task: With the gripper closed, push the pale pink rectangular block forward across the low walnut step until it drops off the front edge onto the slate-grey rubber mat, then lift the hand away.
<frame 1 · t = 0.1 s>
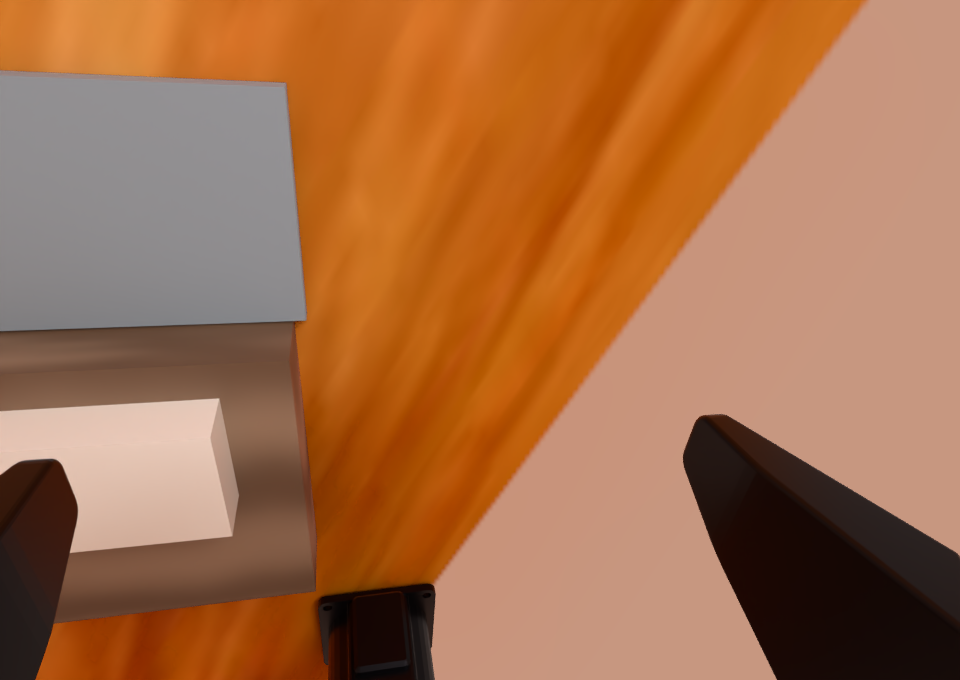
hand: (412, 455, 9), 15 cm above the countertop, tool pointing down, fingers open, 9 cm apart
step: (161, 453, 26), on the countertop
mat: (91, 209, 20), on the countertop
pale pink rectangular block: (127, 457, 22), point 3 cm above the countertop, touching step
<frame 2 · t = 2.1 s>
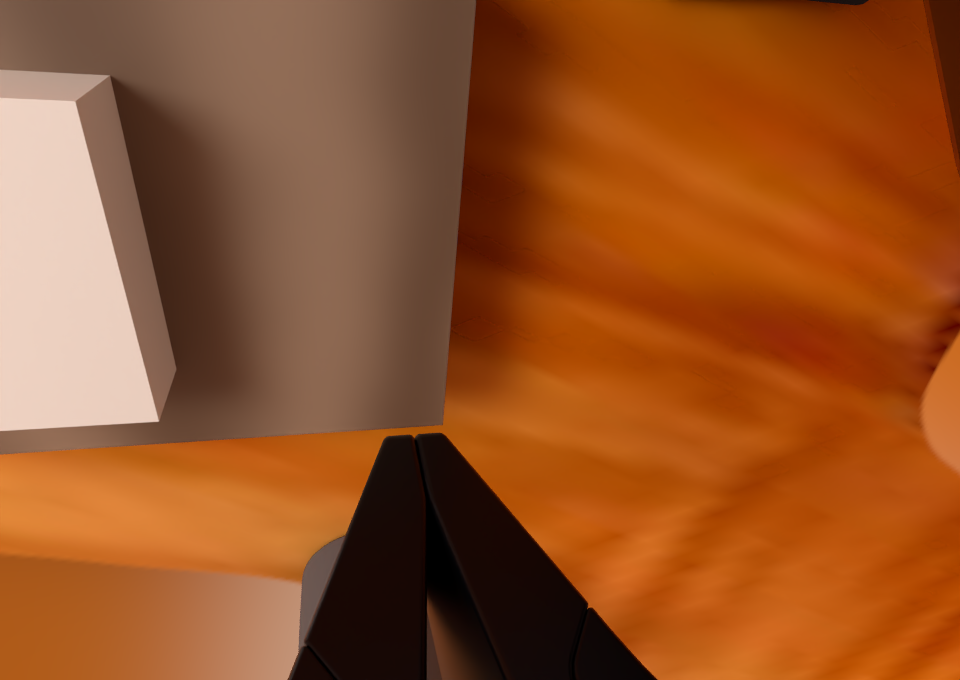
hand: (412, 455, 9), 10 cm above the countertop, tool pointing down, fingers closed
bottle: (371, 567, 27), on the countertop
step: (185, 193, 16), on the countertop
pale pink rectangular block: (20, 243, 13), point 3 cm above the countertop, touching step
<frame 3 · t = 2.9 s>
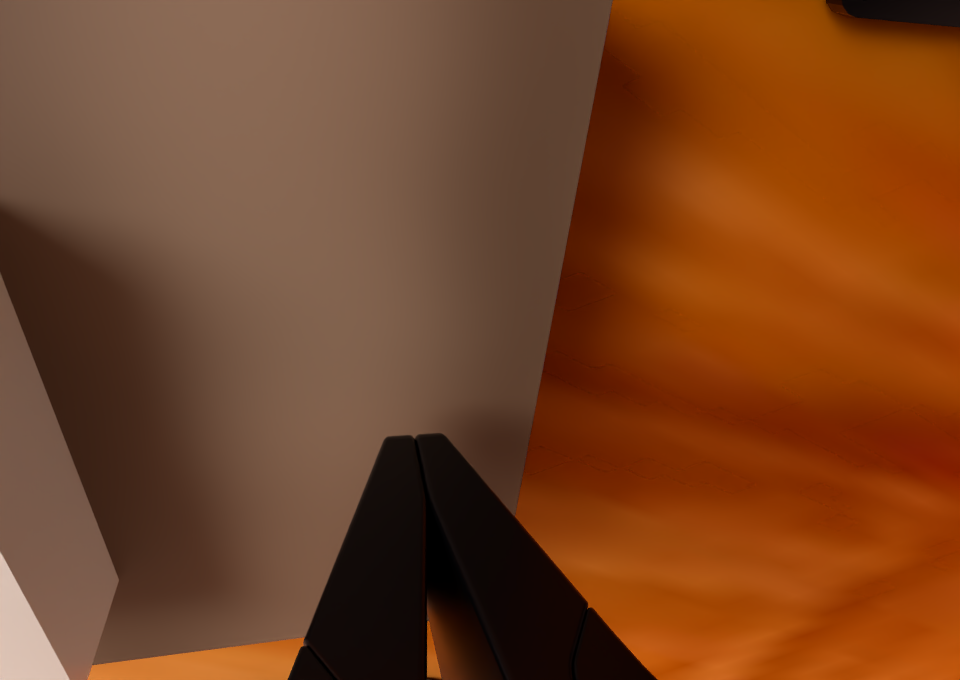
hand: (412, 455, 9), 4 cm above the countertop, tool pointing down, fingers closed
step: (135, 315, 11), on the countertop
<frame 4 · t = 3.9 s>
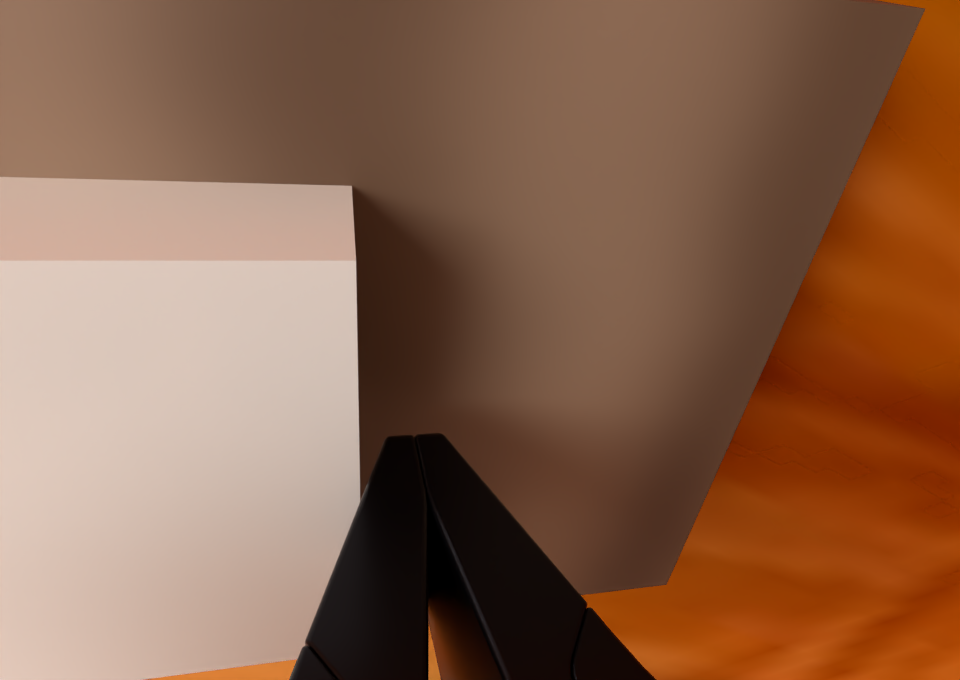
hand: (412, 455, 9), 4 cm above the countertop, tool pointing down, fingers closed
step: (368, 302, 12), on the countertop
pale pink rectangular block: (182, 411, 9), point 3 cm above the countertop, touching gripper
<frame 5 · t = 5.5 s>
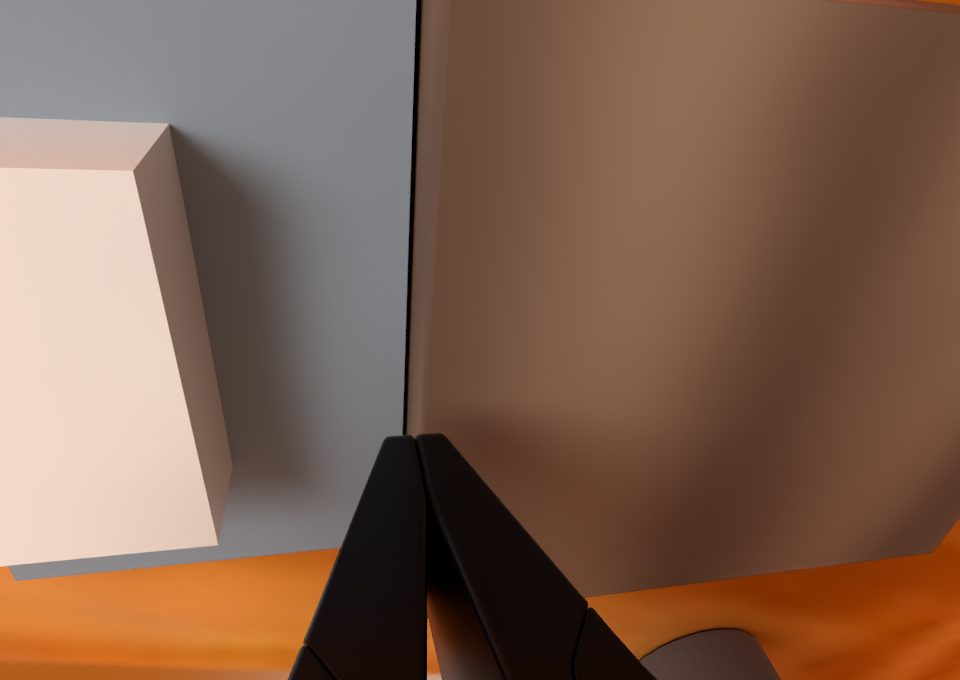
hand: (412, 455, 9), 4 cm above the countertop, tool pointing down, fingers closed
bottle: (686, 664, 24), on the countertop
step: (713, 300, 14), on the countertop
mat: (173, 311, 11), on the countertop
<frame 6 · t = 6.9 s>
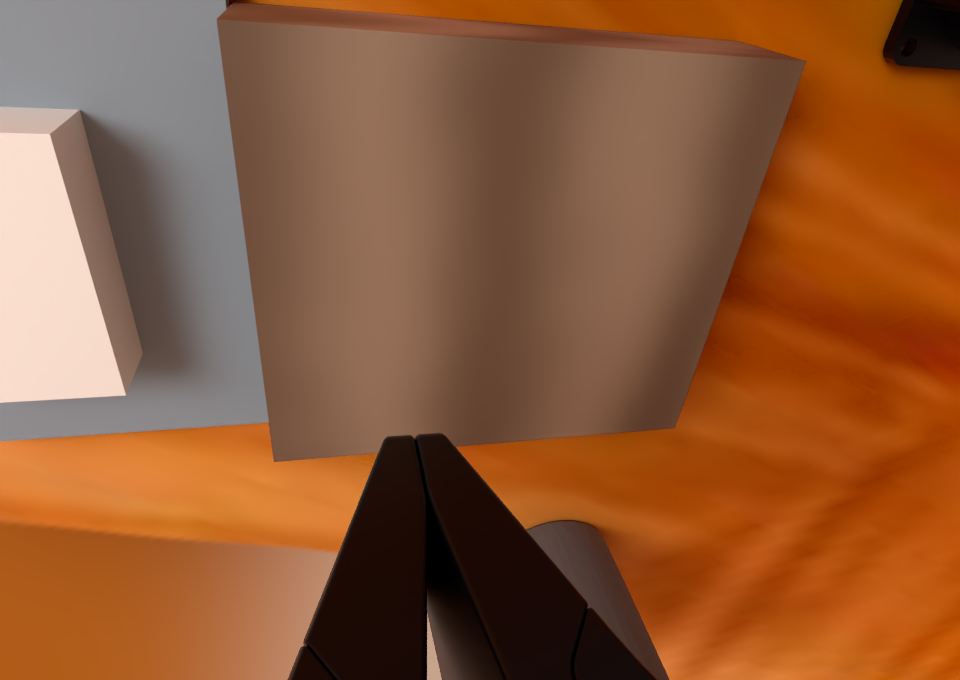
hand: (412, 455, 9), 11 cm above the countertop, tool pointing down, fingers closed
bottle: (546, 555, 30), on the countertop
step: (487, 236, 19), on the countertop
mat: (94, 238, 17), on the countertop
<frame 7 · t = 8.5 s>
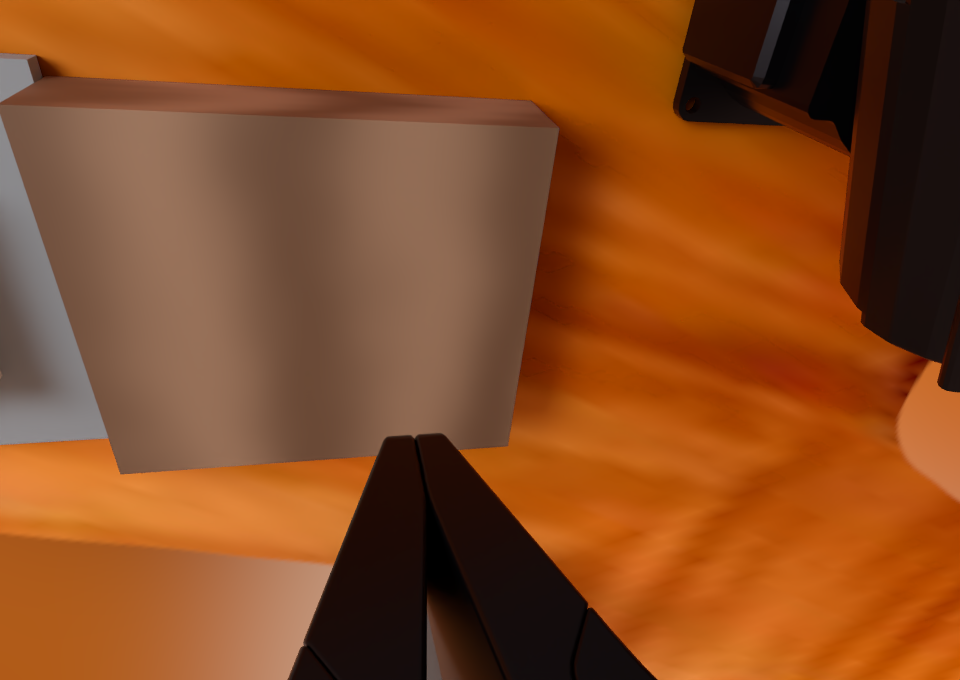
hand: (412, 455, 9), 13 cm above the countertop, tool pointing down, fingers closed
bottle: (431, 559, 32), on the countertop
step: (319, 272, 21), on the countertop
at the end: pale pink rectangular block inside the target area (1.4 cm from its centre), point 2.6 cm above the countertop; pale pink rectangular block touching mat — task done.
